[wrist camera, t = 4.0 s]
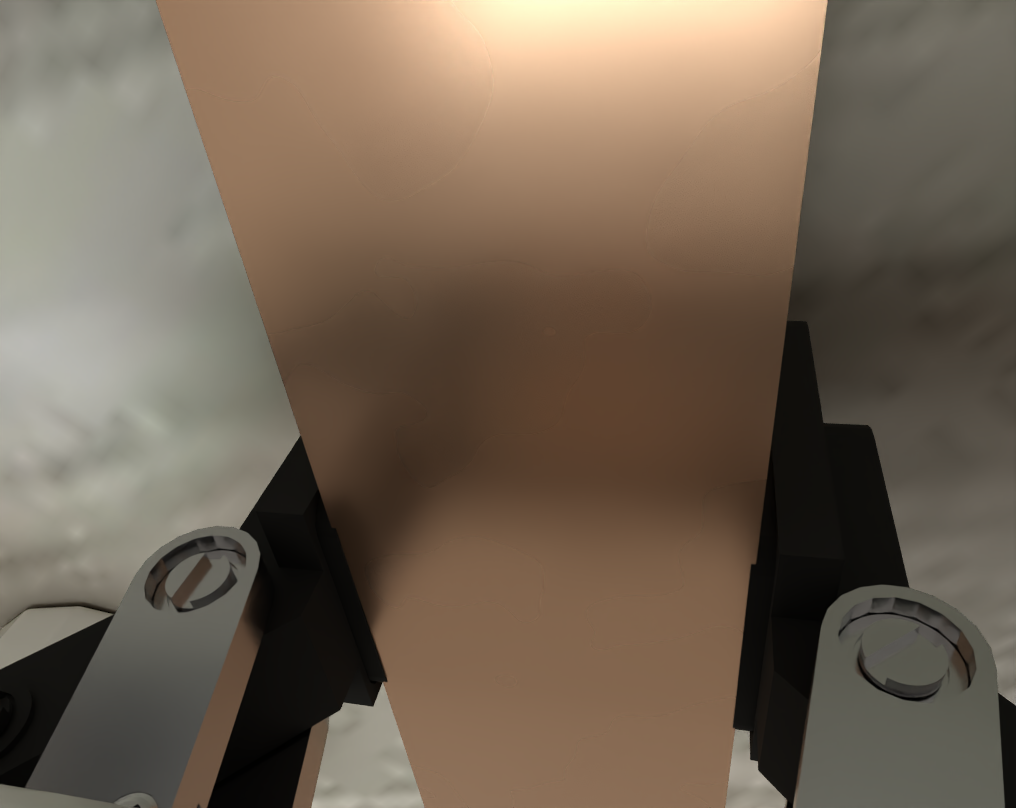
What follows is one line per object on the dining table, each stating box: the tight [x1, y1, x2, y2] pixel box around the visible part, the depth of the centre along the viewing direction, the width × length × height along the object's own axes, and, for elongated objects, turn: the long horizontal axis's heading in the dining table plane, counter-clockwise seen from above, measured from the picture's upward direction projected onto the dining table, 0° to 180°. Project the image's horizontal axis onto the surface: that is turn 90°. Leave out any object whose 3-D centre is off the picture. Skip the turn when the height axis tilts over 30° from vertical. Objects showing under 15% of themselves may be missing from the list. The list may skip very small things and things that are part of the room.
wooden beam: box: [156, 0, 828, 808], centre depth 10 cm, size 18×4×4 cm, turn 6°
